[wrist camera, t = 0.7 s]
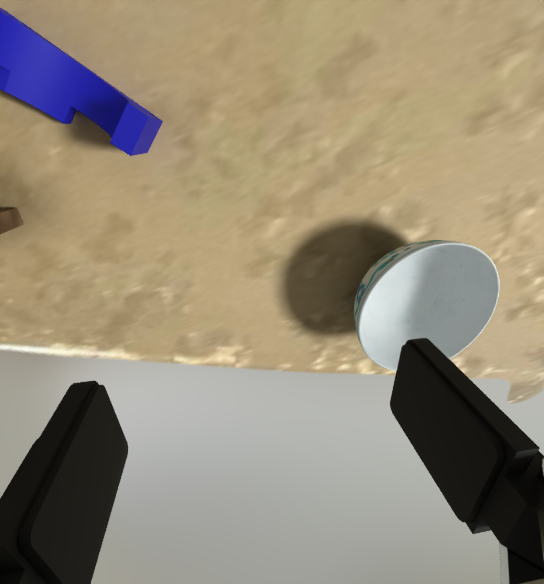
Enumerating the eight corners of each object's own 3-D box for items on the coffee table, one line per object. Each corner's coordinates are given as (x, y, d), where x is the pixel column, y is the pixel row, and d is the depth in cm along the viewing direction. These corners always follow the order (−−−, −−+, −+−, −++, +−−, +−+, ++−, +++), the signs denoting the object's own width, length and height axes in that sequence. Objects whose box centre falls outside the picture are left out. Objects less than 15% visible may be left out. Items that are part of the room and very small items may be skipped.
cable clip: (-11, 72, 23) (-78, 53, 18) (7, 12, 22) (-60, -28, 17) (140, 167, 28) (121, 174, 22) (163, 121, 26) (148, 117, 21)
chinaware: (330, 339, 40) (353, 380, 33) (335, 228, 33) (366, 251, 26) (435, 325, 42) (477, 361, 35) (461, 216, 35) (520, 235, 28)
